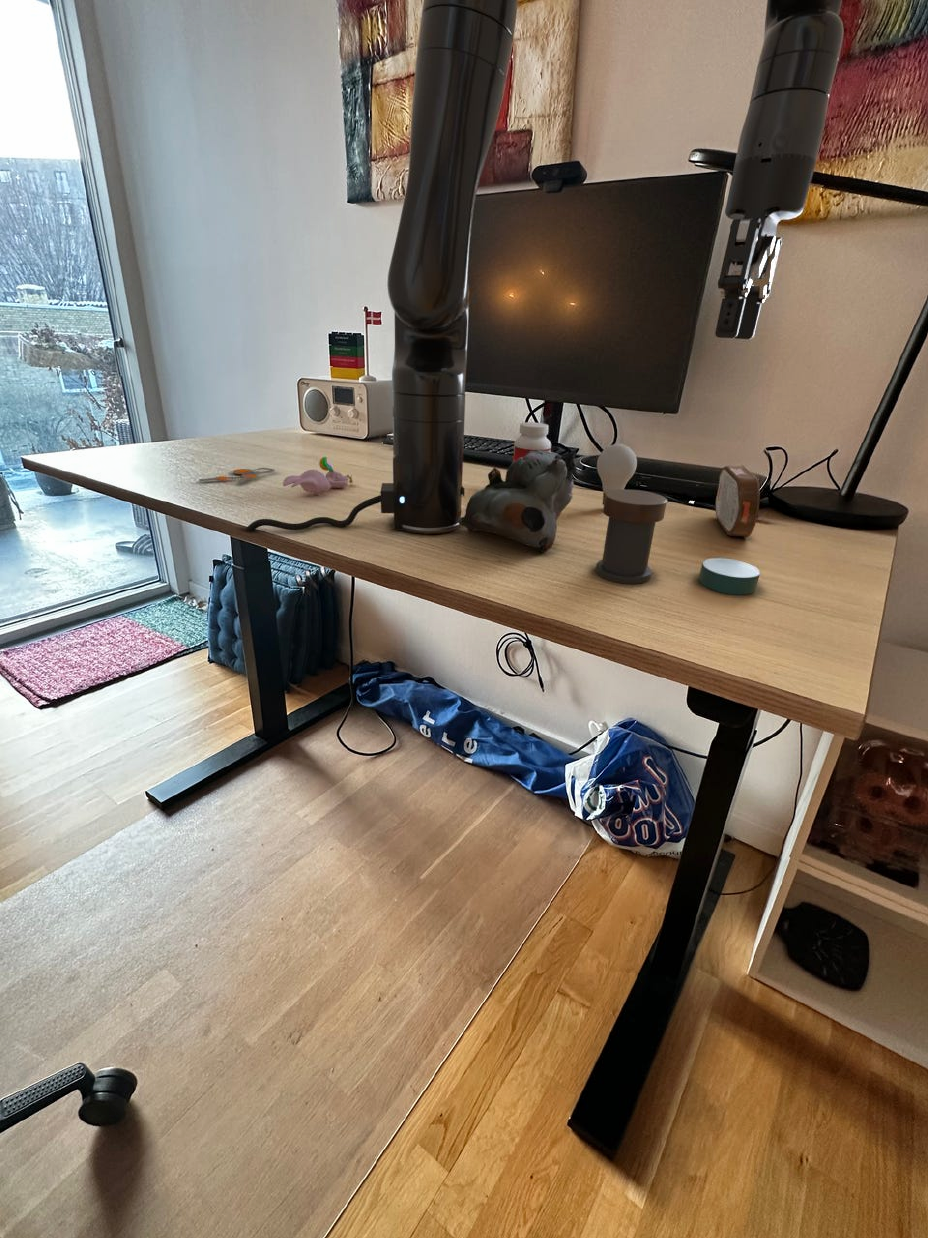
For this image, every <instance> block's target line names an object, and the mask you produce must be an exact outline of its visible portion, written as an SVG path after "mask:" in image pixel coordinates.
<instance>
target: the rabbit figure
mask: <svg viewBox="0 0 928 1238" xmlns="http://www.w3.org/2000/svg"><path fill="white" fill-rule="evenodd" d="M327 460H328V457H327V456H323V457H321V458H320V459H319V462H318V465H319V468H320V469H321V470H323V471H326V472H327V473H326V474H324V473H323V472H321V471H320V470H318V469H317V470H316V469H309V470H306V471H304V472H302V473H301V474H299V475H289V476H286V477H285V478H284V479H283V482H282V486H283V487H287V486H290V488H294V487H295V488H296V487H297V486H300V487H301V488H302V490H303V491H305V492H307V493H310V494H311V493H313V496H317V495H318V496H321V495H322V494H323V493H326V492H328V491H329V490H330V489H331V488H332V489H345V488H346V487H347V486H348V484H350V486H352V485H354V481H353V477H352V476H353V474H346V475H343V474H342V473H341V472H338V471H336V470H334V468H333V467H332V466H331V464H329V463H328V461H327Z"/></svg>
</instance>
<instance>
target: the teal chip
mask: <svg viewBox="0 0 928 1238" xmlns="http://www.w3.org/2000/svg"><path fill="white" fill-rule="evenodd" d="M760 574H761V571H760V570H759V568H757V567H756V566H754V565H753V564H750V563H748V562H744V561H741V560H738V559H731V558H722V557H713V558H712V557H711V558H707V559H705V560H703V561H702V563H701V566H700V571H699V575H698V582H699V584H701V585H702V586H704V587H705V588H707V589H709V590H712V591H714V592H717V593H722V594H726V595H727V594H728V595H737V596H740V595H750V594H752V593H754V592H755V591H756V589H757V586H758V583H759V579H760V576H761V575H760Z"/></svg>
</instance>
